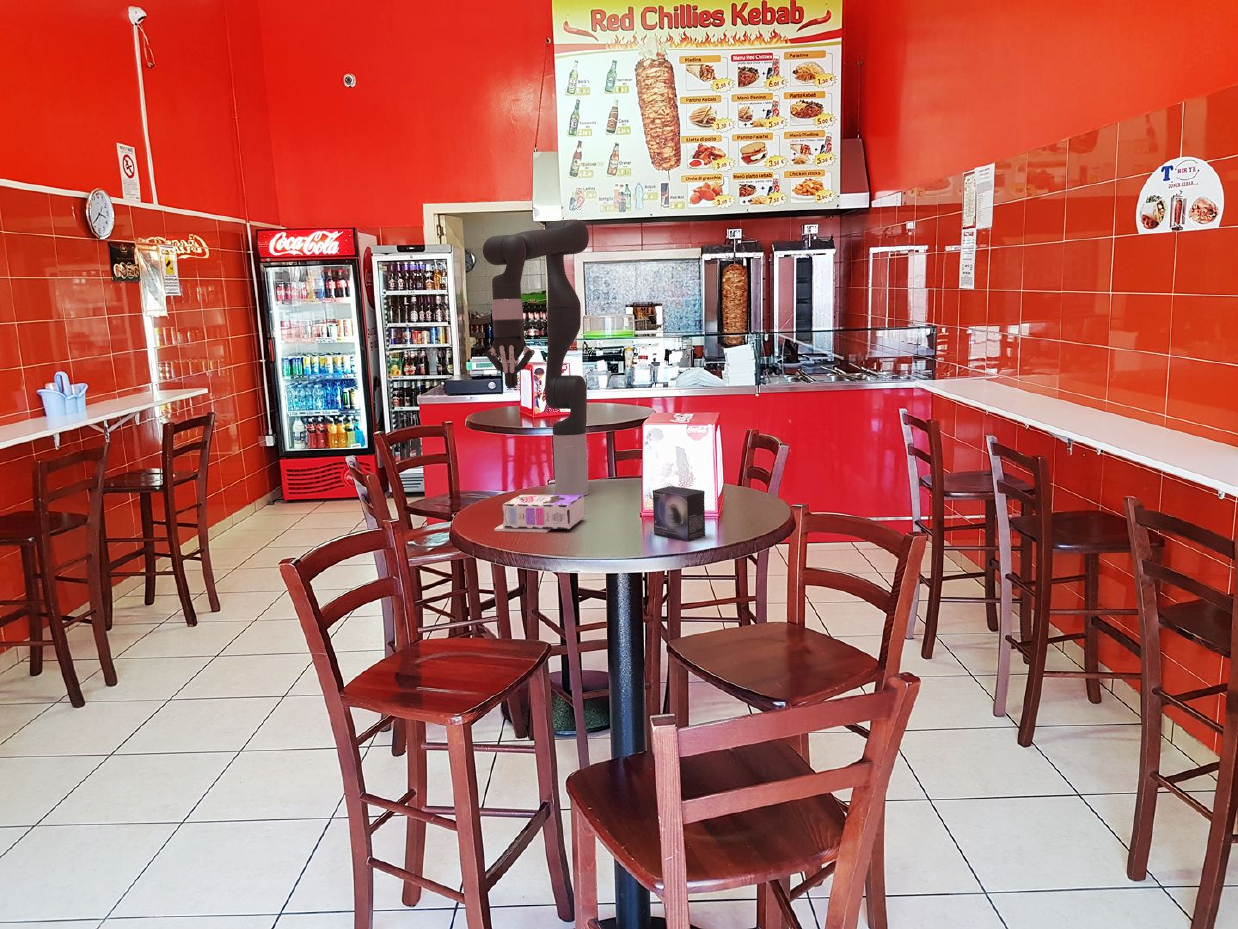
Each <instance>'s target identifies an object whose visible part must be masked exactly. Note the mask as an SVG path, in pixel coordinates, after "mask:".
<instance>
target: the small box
mask: <svg viewBox="0 0 1238 929" xmlns="http://www.w3.org/2000/svg"><path fill="white" fill-rule="evenodd" d="M652 508H653V509H652V511H653V535H654V536H658V537H663V538H664V537H665V538H670V539H674V540H678V541H684V542H691V541H694V540H699V539H702V538H704V537H706V513H705V512H706V511H705V490H702V489H695V488H687V487H681V486H673V485H668V486H664V487H661V488H657V489H653V490H652Z"/></svg>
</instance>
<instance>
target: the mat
mask: <svg viewBox="0 0 1238 929" xmlns="http://www.w3.org/2000/svg"><path fill="white" fill-rule="evenodd" d="M551 530H553V529H540V528H504V527H503V523H502V524H500V525H498V526H497V527H494V532H511V533H513V532H514V533H520V532H521V533H545V534H546V533H548V532H550V531H551Z"/></svg>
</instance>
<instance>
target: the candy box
mask: <svg viewBox="0 0 1238 929" xmlns="http://www.w3.org/2000/svg"><path fill="white" fill-rule="evenodd" d="M584 497H585V496H584V495H555V494H519V495H518V496H515V497H514V498H512V499H511V500H509V501H506V502H505V503H503V504H502V524H503V527H504V528H540V529H552V530H570V529H571V528H573V527H574V526H575V525H577V524H578V523H579V522H580V521H582V520H583V519H584V518H585V517H586V513H585V511H586V510H585V498H584Z"/></svg>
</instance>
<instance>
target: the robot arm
mask: <svg viewBox="0 0 1238 929" xmlns="http://www.w3.org/2000/svg"><path fill="white" fill-rule="evenodd" d="M589 241H590V234H589V230H588V227H587V225H586V224H585V223H584V222H583V221H582V220H580V219H576V218H574V219H573V218H572V219H563V220H554V221H550V222H549V223H548V224H547V225H546V226H545V229H533V230H532V229H531V230H526V231H525V230H524V231H521V232H517V233H514V234H512V233H511V234H503V235H493V236H490V237H488V238H487V239H486V241H485V242H484V243H483V246H482V255H483V258H484V259H485V260H486V261H487V262H488V264H490V265H493V266H505V265H506V266H505V269H504V271H503V272H502V273H501V274H498V275H495V276H493V277H492V279H491V280H492V281H491V288H492V289H491V291H492V306H491V307H492V308H491V309H492V310H491V312H492V313H491V316H492V317H491V318H492V330H493V331H492V332H493V333H492V334H493V342H492V347H491V348H490V349H489V350H487V351H485V353H484V355H485V356H486V358H487V359H488V360H489V362H490V363H491V364H492V365H493V367H494V368H495V369H496V370H497V371H498V372H502V373H503V374H504V385H505V386H506V388H507V389H515V388H516V386H518V383H519V381H518V372H520V371H523V370H525V368H526V367H527V365H528V364H529V362H530V361H531V360H532V358H533V356H534V355H535V354H536V353H535V352H536V351H535V350H534V349H531V348H530V347H528V346H527V342H526V340H525V329H524V328H525V327H524V325H525V324H524V308H523V302H522V286H521V283H522V277H523V271H524V266H525V262H526V261H529V260H532V259H533V260H534V259H537V258H540V257H545V262H546V263H545V264H546V266H545V267H546V276H547V277H546V278H547V279H546V280H547V305H546V307H547V308H546V323H547V324H546V325H547V326H546V327H547V328H546V329H547V355H546V356H547V357H546V367H545V368H546V370H545V381H544V382H545V384H544V398H545V402H546V405H547V407H548V408H550V409H553V410H569V415H568V416H567V417H566V418H564V419H562V420H560V421H557V422H555V423H553V425H552V443H553V466H554V470H553V471H554V489H555V490H554V492H555V494H554V495H584V497H585V496H587V495H589V474H588V473H589V471H588V451H587V450H588V448H587V447H588V446H587V421H588V420H587V418H588V417H587V416H588V415H587V408H588V406H587V404H588V403H587V402H588V400H587V399H588V398H587V397H588V392H587V391H588V390H587V382H586V380H585V378H584V377H583V376H582V375H575V374H574V375H569V374H568V375H562V374H563V365H564V361H565V357H566V355H567V353H568V351H569V349H570V348H571V346H572V345H573V343H574V341H575V340H576V338H577V336H578V335H579V332H580V330H581V325H582V323H581V322H582V320H581V318H582V315H581V314H582V313H581V312H582V310H581V309H582V308H581V306H582V305H581V301H580V298H579V295H578V294H577V292H576V290H575V288H574V287H573V285H572V284H571V283H570V280H569V278H568V277H567V274H566V270H565V261H564V258H565V256H566V255H567V256H568V255H576V254H577V255H578V254H581V253H582V252H584V251H585V250H586V249H587V247H588V245H589ZM497 355H498V356H499V358H500V359H501V360H500V359H499V358H498V356H497ZM521 355H523V356H522V358H521V359H520V357H521Z"/></svg>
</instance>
